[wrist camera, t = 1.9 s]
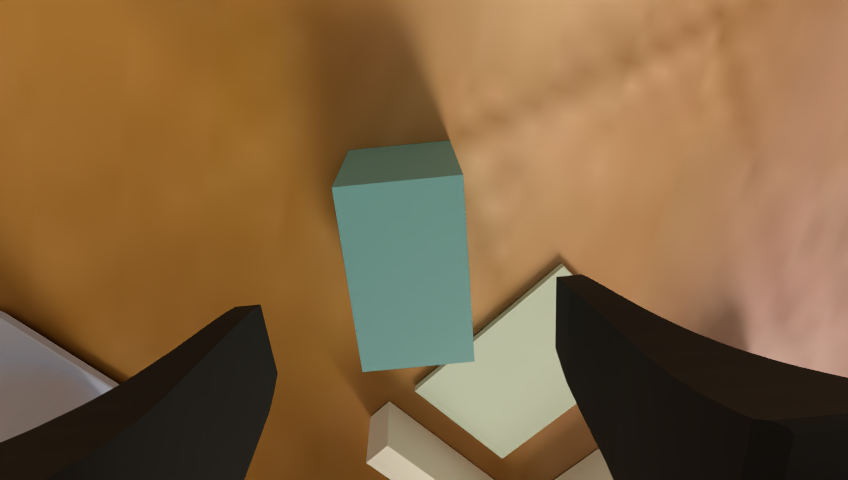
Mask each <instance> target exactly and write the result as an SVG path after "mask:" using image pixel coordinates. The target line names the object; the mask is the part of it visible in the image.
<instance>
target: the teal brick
mask: <svg viewBox="0 0 848 480" xmlns="http://www.w3.org/2000/svg"><path fill="white" fill-rule="evenodd" d="M332 193H333V199H334V205H335V211H336V217H337V223H338V229H339V235H340V241H341V247H342V253H343V259H344V265H345V271H346V277H347V282H348V288H349V294H350V300H351V306H352V312H353V318H354V324H355V330H356V336H357V342H358V348H359V354H360V360H361V366H362V372H369V371H380V370H390V369H401V368H411V367H422V366H432V365H443V364H454V363H464V362H475V360H474V344H473V327H472V311H471V295H470V278H469V262H468V246H467V230H466V213H465V197H464V181H463V173H462V171H461V168H460V165H459V163H458V160H457V158H456V155H455V153H454V150H453V147H452V145H451V142H450V140H448V141H438V142H427V143H417V144H407V145H396V146H386V147H376V148H365V149H355V150H349V151H348V153H347V155H346V157H345V159H344V161H343V164H342V166H341V168H340V170H339V172H338V175H337V177H336V179H335V181H334V183H333V185H332Z"/></svg>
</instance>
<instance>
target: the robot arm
mask: <svg viewBox="0 0 848 480" xmlns="http://www.w3.org/2000/svg"><path fill="white" fill-rule="evenodd" d="M555 348H556V352H557V355H558V358H559V361H560V364H561V367H562V370H563V373H564V376H565V379H566V382H567V384H568V386H569V388H570V391H571V393H572V395H573V397H574V399H575V401H576V403H577V405H578V407H579V409H580V411H581V413H582V415H583V417H584V419H585V421H586V423H587V425H588V427H589V429H590V431H591V433H592V435H593V437H594V439H595V441H596V443H597V445H598V447H599V449H600V451H601V453H602V456H603V458H604V460H605V462H606V464H607V466H608V469H609V471H610V473H611V475H612V478H613V480H848V378H846V377H841V376H837V375H832V374H828V373H824V372H819V371H815V370H810V369H806V368H802V367H798V366H794V365H790V364H787V363H783V362H779V361H775V360H772V359H769V358H766V357H762V356H759V355H756V354H752V353H749V352H746V351H743V350H740V349H737V348H734V347H731V346H728V345H725V344H722V343H720V342H717V341H715V340H712V339H710V338H707V337H704V336H702V335H699V334H697V333H694V332H692V331H690V330H687V329H685V328H683V327H681V326H678V325H676V324H674V323H672V322H670V321H668V320H666V319H664V318H662V317H660V316H658V315H656V314H654V313H652V312H650V311H648V310H646V309H644V308H642V307H640V306H638V305H637V304H635V303H633V302H631V301H629V300H627V299H626V298H624V297H622V296H620V295H619V294H617V293H615V292H613V291H612V290H610V289H608V288H606V287H605V286H603V285H601V284H599V283H598V282H596V281H594V280H592V279H590V278H588V277H586V276H584V275H582V274H581V275H570V276H560V277H556V334H555ZM276 379H277V369H276V365H275V361H274V357H273V353H272V349H271V345H270V341H269V337H268V333H267V329H266V325H265V321H264V317H263V313H262V309H261V305H251V306H240V307H235V308H233V309H231V310H229V311H228V312H226V313H224V314H223V315H221V316H220V317H218V318H217V319H216V320H214V321H213V322H211V323H210V324H209V325H207V326H206V327H204V328H203V329H202V330H200V331H199V332H197V333H196V334H195V335H193V336H192V337H190V338H189V339H188V340H186V341H185V342H183V343H182V344H181V345H179V346H178V347H177V348H175V349H174V350H172V351H171V352H169V353H168V354H166V355H165V356H163V357H162V358H160V359H159V360H157V361H156V362H154V363H153V364H151V365H150V366H148V367H147V368H145V369H144V370H142V371H141V372H139V373H138V374H136V375H134V376H133V377H131V378H130V379H128V380H126V381H125V382H123V383H121V384H120V385H119V384H118V383H116V382H115V381H113V380H111V379H110V378H108V377H107V376H105V375H104V374H102V373H100V372H99V371H97V370H96V369H94V368H92V367H91V366H89V365H88V364H86V363H84V362H83V361H81V360H80V359H78V358H76V357H75V356H73V355H72V354H70V353H69V352H67V351H65V350H64V349H62V348H61V347H59V346H57V345H56V344H54V343H53V342H51V341H49V340H48V339H46V338H45V337H43V336H41V335H40V334H38V333H37V332H35V331H34V330H32V329H30V328H29V327H27V326H26V325H24V324H22V323H21V322H19V321H18V320H16V319H14V318H13V317H11V316H10V315H8V314H6V313H4V312H2V311H0V480H244V479H245V476H246V473H247V471H248V468H249V465H250V463H251V460H252V457H253V455H254V452H255V449H256V447H257V444H258V441H259V439H260V436H261V433H262V430H263V428H264V425H265V422H266V419H267V416H268V414H269V411H270V407H271V403H272V398H273V394H274V389H275V384H276Z"/></svg>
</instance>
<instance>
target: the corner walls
mask: <svg viewBox="0 0 848 480" xmlns="http://www.w3.org/2000/svg"><path fill="white" fill-rule="evenodd" d="M366 463H367V464H368V465H370V466H371V467H373V468H374V469H376V470H377V471H379V472H380V473H381V474H383V475H384V476H386V477H387V478H389V479H390V480H494V479H492V478H491V477H490V476H488V475H487V474H486V473H484V472H483V471H482V470H480V469H479V468H478V467H476V466H475V465H474V464H472V463H471V462H470V461H468V460H467V459H466V458H464V457H463V456H462V455H460V454H459V453H458V452H456V451H455V450H454V449H452V448H451V447H450V446H448V445H447V444H446V443H444V442H443V441H442V440H440V439H439V438H438V437H436V436H435V435H434V434H432V433H431V432H430V431H428V430H427V429H426V428H424V427H423V426H422V425H420V424H419V423H418V422H416V421H415V420H414V419H412V418H411V417H410V416H408V415H407V414H406V413H404V412H403V411H402V410H400V409H399V408H398V407H396V406H395V405H394V404H392V403H391V402H390V401H389V402H388V403H386V404H385V405H384V406H383V407H382V408H381V409H379V410H378V411H377V412H376V413H375V414H373V415H372V416H371V417H370V425H369V437H368V448H367V459H366ZM555 480H613V478H612V475H611V473H610V471H609V469H608V466H607V464H606V462H605V460H604V458H603V456H602V453H601V451H600V449H599V448H598V449H597V450H596V451H594V452H593V453H591V454H590V455H589V456H587V457H586V458H584V459H583V460H582V461H580V462H579V463H577V464H576V465H574V466H573V467H572V468H570V469H569V470H567V471H566V472H565V473H563V474H562V475H560V476H559V477H557V478H556V479H555Z"/></svg>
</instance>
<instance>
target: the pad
mask: <svg viewBox="0 0 848 480" xmlns="http://www.w3.org/2000/svg"><path fill="white" fill-rule="evenodd" d="M570 275H573V274H572V273H571V272H570V271H569V270H568V269H567V268H566V267H565V266H564V265H563V264H562V263H561V264H559V265H558V266H557V267H556V268H555V269H554V270H552V271H551V272H550V273H549V274H548V275H546V276H545V277H544V278H543V279H542V280H540V281H539V282H538V283H537V284H536V285H535V286H533V287H532V288H531V289H530V290H529V291H527V292H526V293H525V294H524V295H523V296H521V297H520V298H519V299H518V300H517V301H516V302H514V303H513V304H512V305H511V306H510V307H508V308H507V309H506V310H505V311H504V312H503V313H501V314H500V315H499V316H498V317H497V318H495V319H494V320H493V321H492V322H491V323H489V324H488V325H487V326H486V327H485V328H484V329H482V330H481V331H480V332H479V333H478V334H476V335H475V336H474V337H473V344H474V360H475V362H464V363H454V364H443V365H440V366H438V367H437V368H436V369H435V370H434V371H432V372H431V373H430V374H429V375H428V376H427V377H425V378H424V379H423V380H422V381H421V382H419V383H418V384H417V385H416V386H415V392H417V393H418V394H419V395H421V396H422V397H423V398H424V399H426V400H427V401H428V402H430V403H431V404H432V405H433V406H435V407H436V408H437V409H439V410H440V411H441V412H442V413H444V414H445V415H446V416H448V417H449V418H450V419H452V420H453V421H454V422H455V423H457V424H458V425H459V426H461V427H462V428H463V429H464V430H466V431H467V432H468V433H470V434H471V435H472V436H473V437H475V438H476V439H477V440H479V441H480V442H481V443H482V444H484V445H485V446H486V447H488V448H489V449H490V450H492V451H493V452H494V453H495V454H497V455H498V456H499V457H501V458H502V459H503V458H504V457H505V456H507V455H508V454H509V453H511V452H512V451H513V450H515V449H516V448H518V447H519V446H520V445H522V444H523V443H524V442H526V441H527V440H528V439H530V438H531V437H532V436H534V435H535V434H536V433H538V432H539V431H540V430H542V429H543V428H544V427H546V426H547V425H548V424H550V423H551V422H552V421H554V420H555V419H556V418H558V417H559V416H560V415H562V414H563V413H565V412H566V411H567V410H569V409H570V408H571V407H573V406H574V405H575V404H577V403H576V401H575V399H574V397H573V395H572V393H571V391H570V388H569V386H568V384H567V382H566V379H565V376H564V373H563V370H562V367H561V364H560V361H559V358H558V355H557V352H556V348H555V334H556V277H560V276H570Z"/></svg>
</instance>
